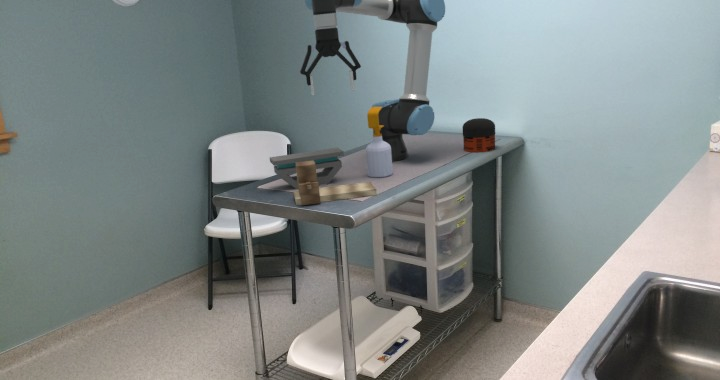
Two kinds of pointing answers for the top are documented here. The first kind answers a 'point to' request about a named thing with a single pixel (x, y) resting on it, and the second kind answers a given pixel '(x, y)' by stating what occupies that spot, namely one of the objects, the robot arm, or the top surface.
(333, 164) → the grey slotted trapezoid block
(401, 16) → the robot arm
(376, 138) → the soap bottle
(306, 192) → the notched wooden block
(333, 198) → the board
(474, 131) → the oil filter
